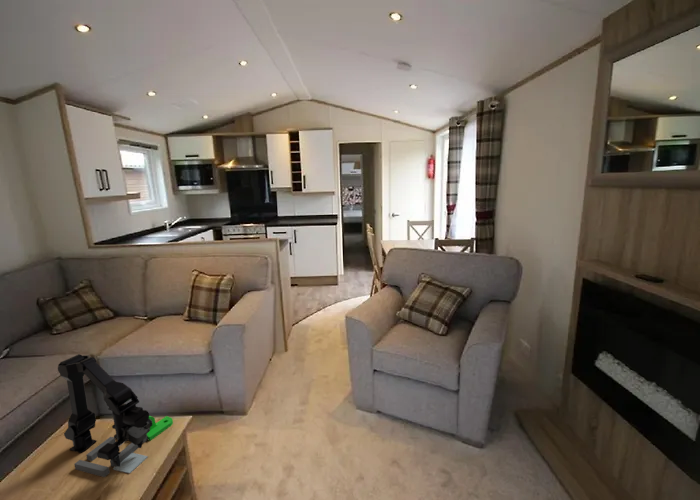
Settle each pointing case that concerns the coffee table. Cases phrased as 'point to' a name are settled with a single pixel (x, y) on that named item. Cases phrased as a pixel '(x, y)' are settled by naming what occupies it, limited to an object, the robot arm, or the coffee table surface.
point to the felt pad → (130, 463)
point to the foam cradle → (104, 470)
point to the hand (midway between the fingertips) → (129, 456)
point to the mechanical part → (159, 426)
